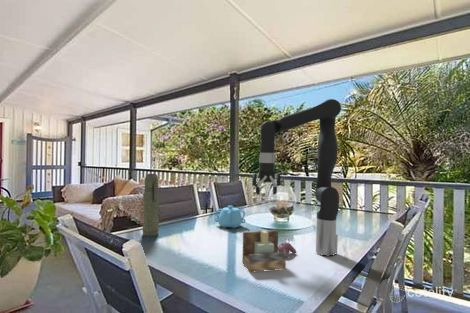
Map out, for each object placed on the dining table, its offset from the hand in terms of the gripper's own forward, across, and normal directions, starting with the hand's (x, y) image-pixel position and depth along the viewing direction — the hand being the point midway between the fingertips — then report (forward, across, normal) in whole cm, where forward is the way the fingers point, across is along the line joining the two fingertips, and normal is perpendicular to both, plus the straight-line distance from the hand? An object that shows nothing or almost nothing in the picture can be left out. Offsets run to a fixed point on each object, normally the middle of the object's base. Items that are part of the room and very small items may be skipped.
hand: (266, 194), depth 150 cm
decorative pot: (+28, +5, -50) cm, 58 cm away
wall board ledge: (+28, +8, +20) cm, 35 cm away
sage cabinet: (+24, +8, +19) cm, 32 cm away
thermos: (+28, +55, -40) cm, 74 cm away
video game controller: (+28, -8, +8) cm, 31 cm away
